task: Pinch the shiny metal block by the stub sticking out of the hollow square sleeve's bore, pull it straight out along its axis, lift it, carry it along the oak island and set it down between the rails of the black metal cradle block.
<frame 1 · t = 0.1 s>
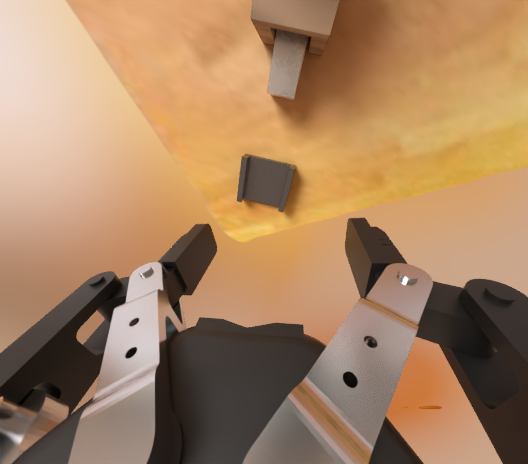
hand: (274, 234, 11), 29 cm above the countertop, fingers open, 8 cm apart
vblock: (266, 181, 39), on the countertop
shiny metal block: (291, 53, 28), resting in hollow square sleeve
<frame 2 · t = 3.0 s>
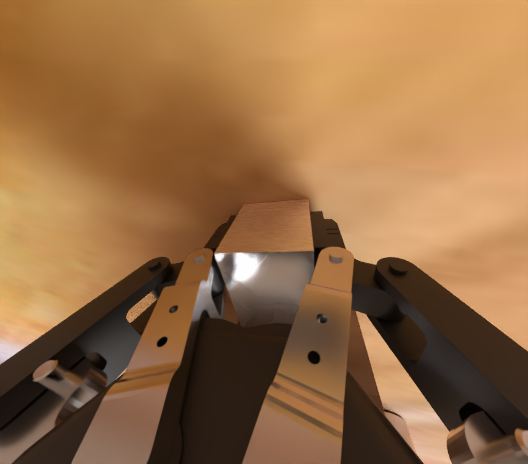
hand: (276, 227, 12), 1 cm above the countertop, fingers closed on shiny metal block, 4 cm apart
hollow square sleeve: (287, 313, 17), on the countertop
shiny metal block: (283, 268, 14), resting in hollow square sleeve, touching gripper
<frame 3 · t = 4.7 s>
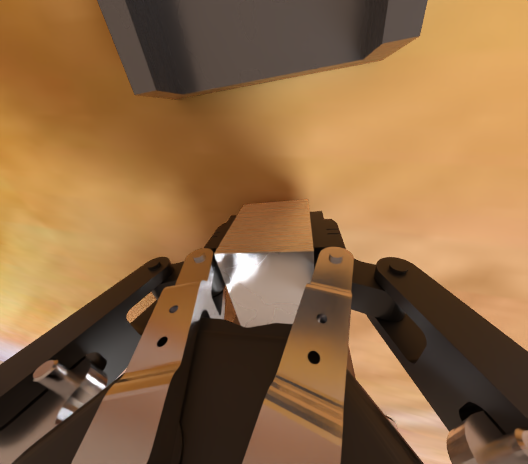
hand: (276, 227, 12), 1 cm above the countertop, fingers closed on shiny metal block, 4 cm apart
shiny metal block: (283, 268, 14), point 1 cm above the countertop, touching gripper
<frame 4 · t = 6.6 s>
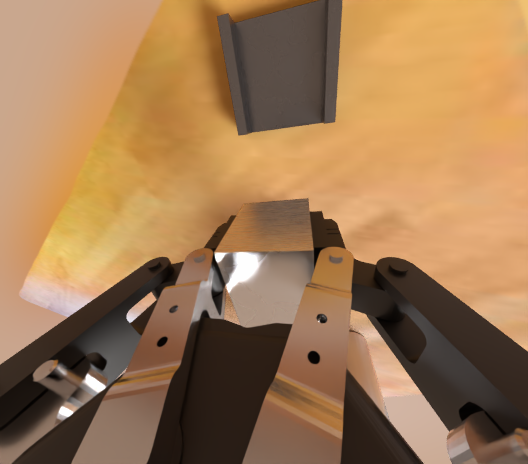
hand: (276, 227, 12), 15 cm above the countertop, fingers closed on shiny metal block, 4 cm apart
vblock: (283, 78, 20), on the countertop
shiny metal block: (283, 268, 14), point 15 cm above the countertop, touching gripper
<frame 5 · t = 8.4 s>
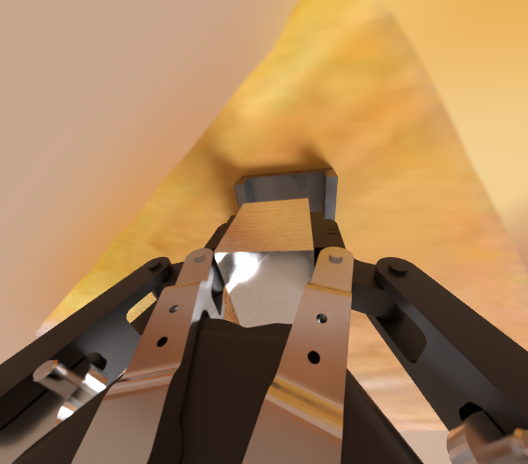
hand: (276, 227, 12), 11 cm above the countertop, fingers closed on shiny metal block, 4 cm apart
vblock: (287, 209, 23), on the countertop
shiny metal block: (283, 268, 14), point 10 cm above the countertop, touching gripper
when the fingers open (3 cm above the countertop, at t = 10.1 s): shiny metal block drops 1 cm, resting on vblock.
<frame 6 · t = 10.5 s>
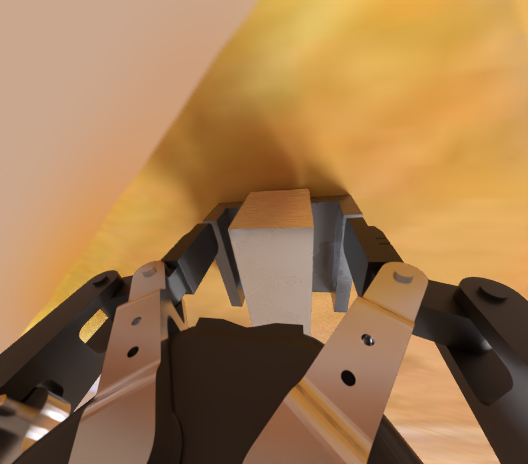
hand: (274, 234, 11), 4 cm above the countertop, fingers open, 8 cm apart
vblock: (284, 247, 16), on the countertop
shiny metal block: (283, 253, 16), point 1 cm above the countertop, touching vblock
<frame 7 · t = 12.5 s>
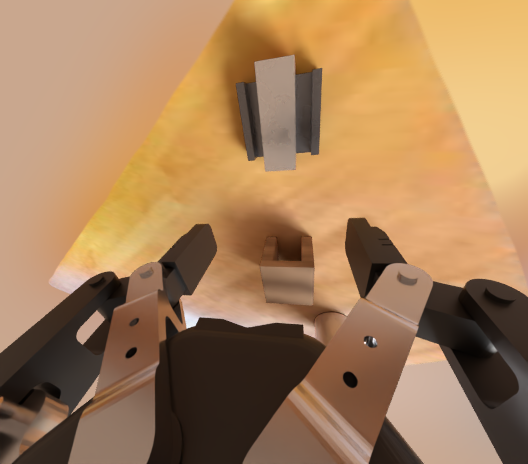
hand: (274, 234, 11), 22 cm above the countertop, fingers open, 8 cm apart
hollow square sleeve: (289, 255, 40), on the countertop
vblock: (281, 119, 26), on the countertop
shiny metal block: (281, 119, 26), point 1 cm above the countertop, touching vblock
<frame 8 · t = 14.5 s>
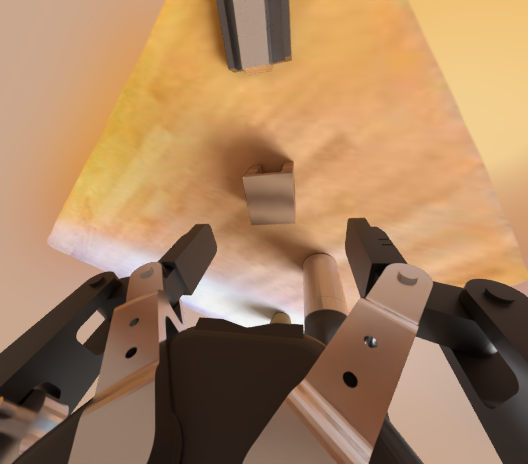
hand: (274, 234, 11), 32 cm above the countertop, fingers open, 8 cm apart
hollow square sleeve: (274, 186, 43), on the countertop
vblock: (258, 29, 29), on the countertop
squeeze bottle: (281, 316, 69), on the countertop
shiny metal block: (256, 26, 28), point 1 cm above the countertop, touching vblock
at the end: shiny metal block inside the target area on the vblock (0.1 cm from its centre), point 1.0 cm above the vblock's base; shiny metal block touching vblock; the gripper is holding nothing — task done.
